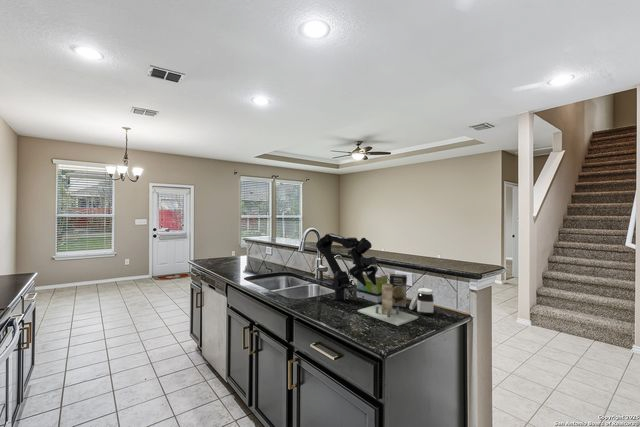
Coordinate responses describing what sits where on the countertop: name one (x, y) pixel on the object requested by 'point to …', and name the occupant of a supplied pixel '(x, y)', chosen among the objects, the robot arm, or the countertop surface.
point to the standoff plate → (388, 315)
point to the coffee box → (398, 289)
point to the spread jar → (423, 302)
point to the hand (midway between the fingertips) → (370, 285)
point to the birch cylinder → (386, 298)
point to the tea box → (371, 288)
